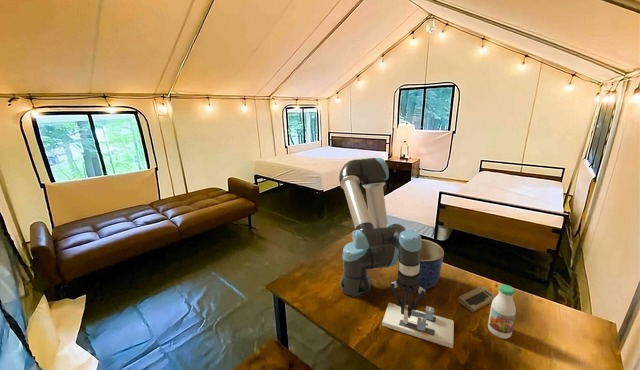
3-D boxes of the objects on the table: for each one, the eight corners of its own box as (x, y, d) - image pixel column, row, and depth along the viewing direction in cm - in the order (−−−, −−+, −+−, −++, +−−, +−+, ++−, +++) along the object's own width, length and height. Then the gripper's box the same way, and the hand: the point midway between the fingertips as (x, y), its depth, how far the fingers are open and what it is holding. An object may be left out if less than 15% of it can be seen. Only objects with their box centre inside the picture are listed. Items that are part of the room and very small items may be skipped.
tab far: (425, 318, 106) (425, 309, 105) (425, 313, 109) (426, 305, 107) (432, 320, 105) (433, 311, 104) (433, 316, 107) (434, 307, 106)
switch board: (382, 325, 107) (382, 321, 106) (388, 306, 117) (388, 301, 117) (452, 348, 96) (453, 343, 95) (453, 324, 106) (453, 320, 105)
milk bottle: (483, 324, 105) (489, 282, 99) (501, 322, 106) (508, 280, 100) (497, 340, 98) (505, 296, 92) (516, 338, 98) (525, 293, 92)
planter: (439, 272, 138) (441, 240, 132) (442, 299, 119) (446, 263, 114) (398, 267, 145) (399, 236, 139) (396, 291, 126) (397, 257, 121)
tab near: (416, 329, 102) (417, 320, 100) (417, 324, 104) (418, 315, 103) (425, 331, 100) (425, 322, 99) (425, 326, 102) (426, 318, 101)
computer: (473, 313, 111) (474, 307, 110) (456, 301, 118) (457, 295, 117) (497, 301, 117) (498, 294, 116) (480, 290, 124) (480, 284, 123)
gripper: (388, 272, 97) (387, 322, 104) (426, 281, 92) (422, 333, 99) (392, 261, 104) (391, 309, 111) (428, 269, 98) (423, 318, 105)
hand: (405, 320), depth 105 cm, fingers closed
